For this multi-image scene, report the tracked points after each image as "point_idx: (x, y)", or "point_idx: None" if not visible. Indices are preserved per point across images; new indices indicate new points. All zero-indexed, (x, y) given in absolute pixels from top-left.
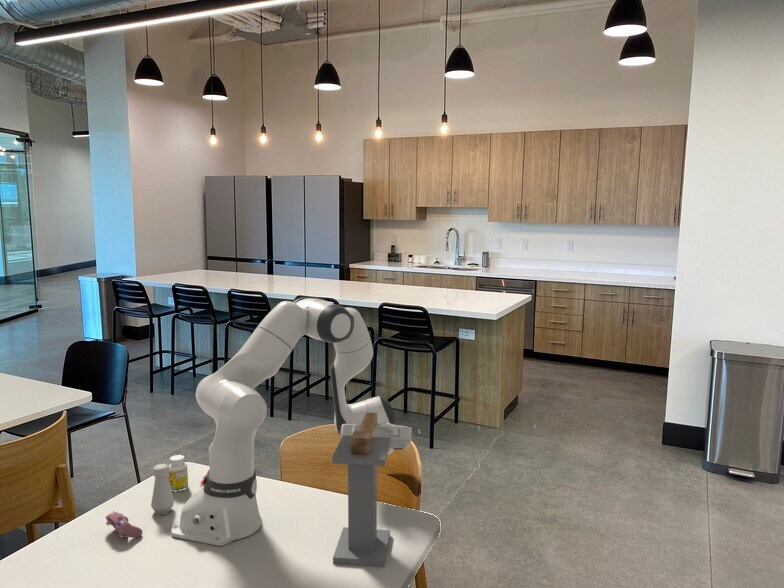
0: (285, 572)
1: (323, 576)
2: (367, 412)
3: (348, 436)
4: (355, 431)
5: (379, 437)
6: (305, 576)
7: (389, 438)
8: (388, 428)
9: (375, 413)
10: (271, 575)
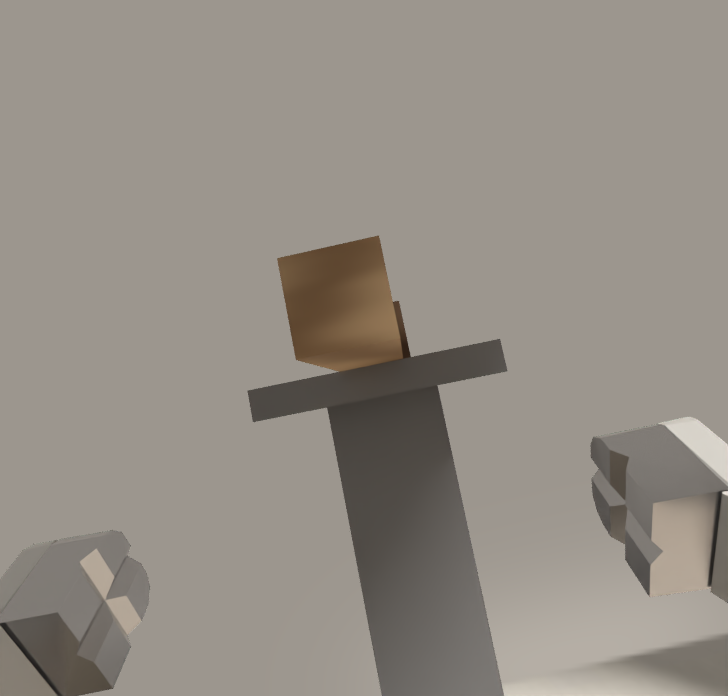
0: (667, 675)
1: (546, 690)
2: (366, 238)
3: (466, 346)
4: (393, 302)
5: (305, 379)
6: (596, 678)
7: (256, 389)
8: (128, 544)
9: (296, 259)
10: (694, 659)
